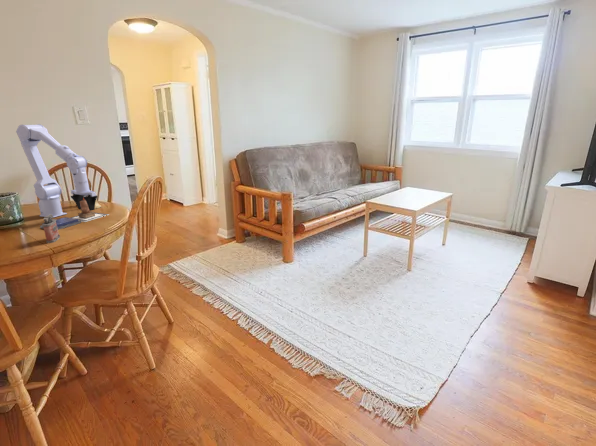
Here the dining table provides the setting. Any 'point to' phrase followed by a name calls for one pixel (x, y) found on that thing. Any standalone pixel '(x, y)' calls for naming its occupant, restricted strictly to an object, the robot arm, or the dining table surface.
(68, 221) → the ink pad
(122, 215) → the dining table surface
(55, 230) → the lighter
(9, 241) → the dining table surface
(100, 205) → the hand bell
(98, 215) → the marked square
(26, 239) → the dining table surface
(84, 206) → the stamp
